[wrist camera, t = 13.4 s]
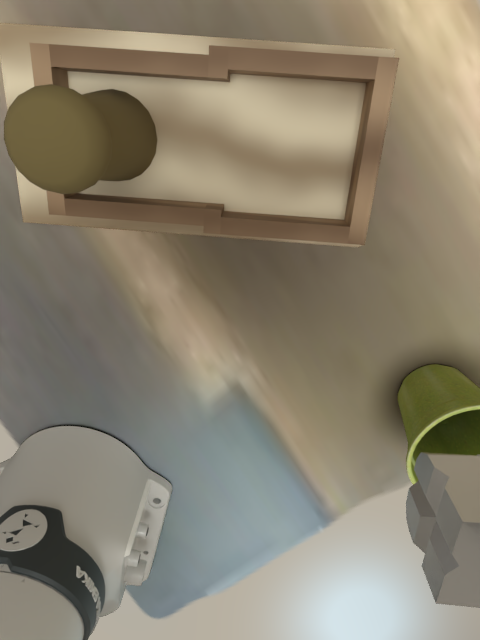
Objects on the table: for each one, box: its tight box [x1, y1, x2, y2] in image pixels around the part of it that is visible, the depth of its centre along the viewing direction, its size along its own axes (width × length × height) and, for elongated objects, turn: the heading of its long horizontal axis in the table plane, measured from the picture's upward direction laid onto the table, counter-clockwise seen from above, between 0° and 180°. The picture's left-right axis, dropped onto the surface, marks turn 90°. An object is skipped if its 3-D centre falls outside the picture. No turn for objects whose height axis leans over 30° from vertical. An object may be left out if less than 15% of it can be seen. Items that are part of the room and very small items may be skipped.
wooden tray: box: [0, 23, 399, 247], centre depth 30 cm, size 13×26×4 cm, turn 86°
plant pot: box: [398, 364, 480, 485], centre depth 36 cm, size 9×9×9 cm
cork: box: [4, 84, 157, 194], centre depth 26 cm, size 6×6×11 cm
